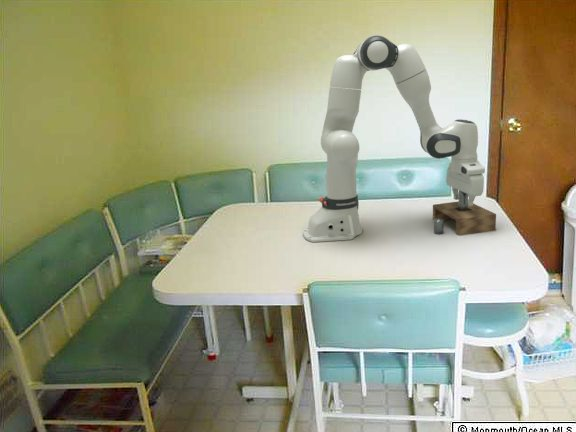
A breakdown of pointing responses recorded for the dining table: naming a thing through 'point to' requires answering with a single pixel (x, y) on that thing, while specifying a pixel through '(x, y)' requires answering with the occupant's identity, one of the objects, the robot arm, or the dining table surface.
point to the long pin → (463, 201)
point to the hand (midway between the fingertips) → (463, 202)
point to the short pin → (438, 226)
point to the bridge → (466, 217)
